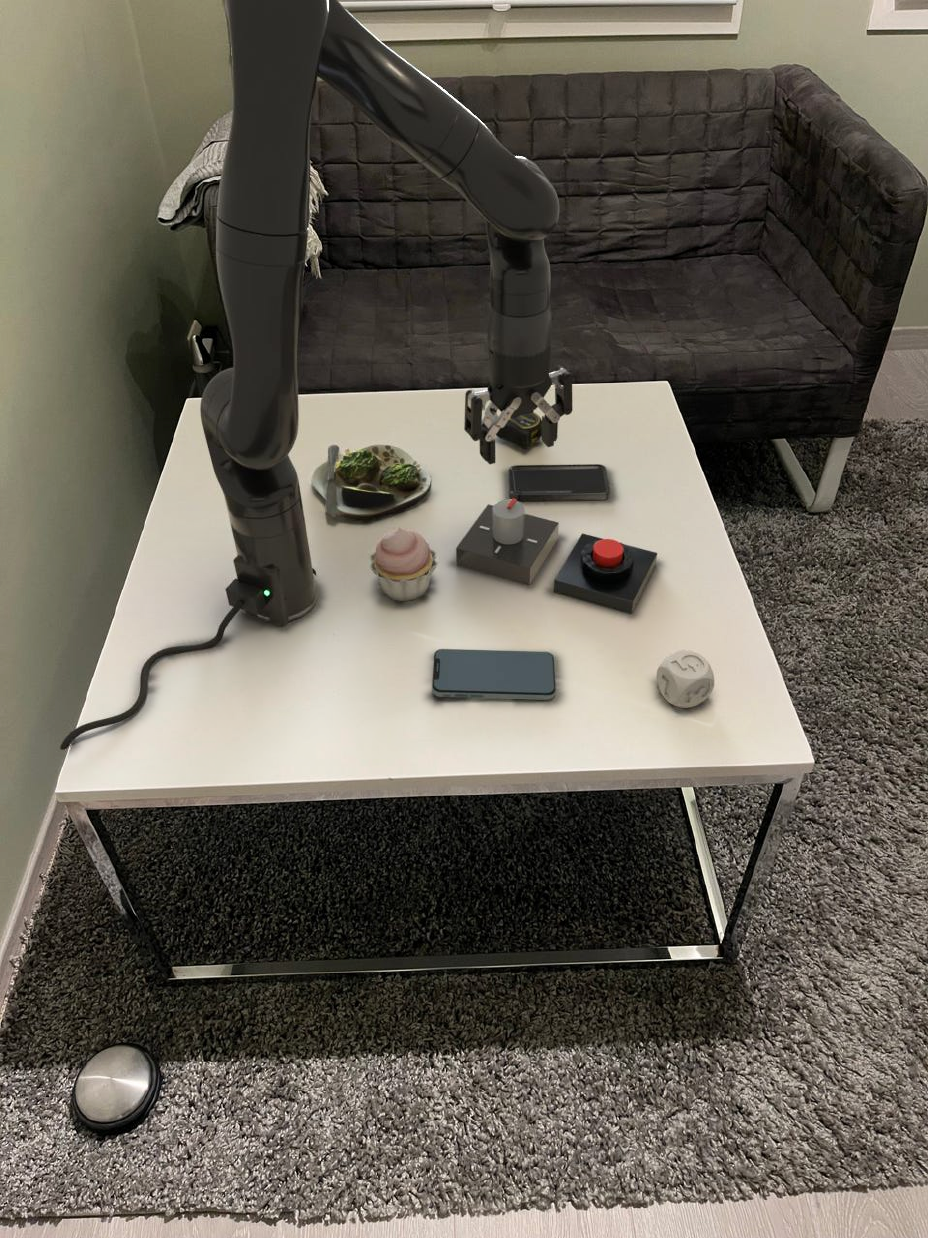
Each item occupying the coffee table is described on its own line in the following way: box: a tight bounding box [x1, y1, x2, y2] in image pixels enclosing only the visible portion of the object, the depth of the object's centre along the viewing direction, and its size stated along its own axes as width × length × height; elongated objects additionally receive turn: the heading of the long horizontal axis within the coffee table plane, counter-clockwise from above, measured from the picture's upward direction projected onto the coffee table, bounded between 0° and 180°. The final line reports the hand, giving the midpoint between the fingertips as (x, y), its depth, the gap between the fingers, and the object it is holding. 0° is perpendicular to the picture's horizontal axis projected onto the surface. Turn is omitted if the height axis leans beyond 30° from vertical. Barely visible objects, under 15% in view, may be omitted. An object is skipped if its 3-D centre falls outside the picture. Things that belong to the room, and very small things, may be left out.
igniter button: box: [593, 538, 623, 567], centre depth 136 cm, size 4×4×2 cm
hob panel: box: [455, 503, 560, 586], centre depth 142 cm, size 11×11×3 cm
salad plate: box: [310, 443, 433, 522], centre depth 155 cm, size 19×18×5 cm
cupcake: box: [368, 527, 439, 602], centre depth 135 cm, size 9×9×10 cm
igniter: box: [553, 533, 658, 615], centre depth 138 cm, size 11×11×4 cm
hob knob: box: [492, 498, 526, 545], centre depth 140 cm, size 4×4×5 cm
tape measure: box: [495, 412, 542, 450], centre depth 163 cm, size 7×7×4 cm
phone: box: [508, 463, 611, 502], centre depth 154 cm, size 8×1×15 cm
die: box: [656, 649, 715, 709], centre depth 122 cm, size 5×5×5 cm
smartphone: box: [431, 648, 557, 701], centre depth 125 cm, size 8×2×15 cm
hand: (518, 452), depth 132 cm, fingers open, 8 cm apart
